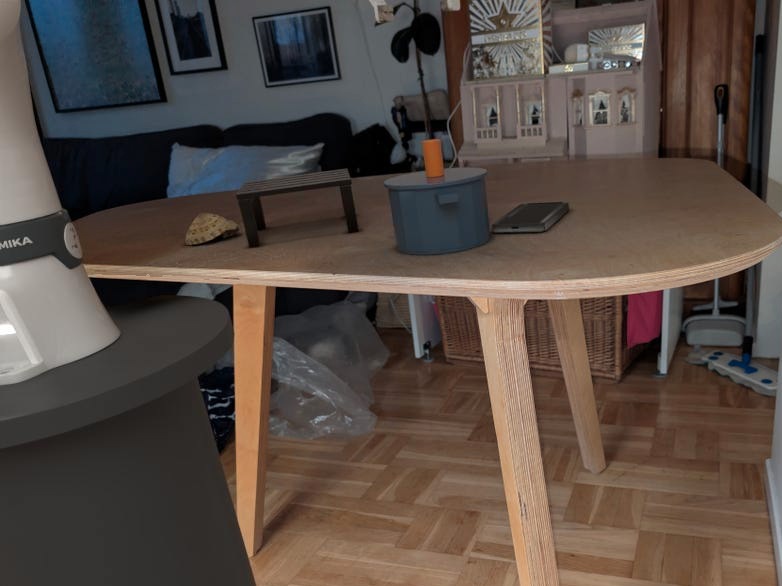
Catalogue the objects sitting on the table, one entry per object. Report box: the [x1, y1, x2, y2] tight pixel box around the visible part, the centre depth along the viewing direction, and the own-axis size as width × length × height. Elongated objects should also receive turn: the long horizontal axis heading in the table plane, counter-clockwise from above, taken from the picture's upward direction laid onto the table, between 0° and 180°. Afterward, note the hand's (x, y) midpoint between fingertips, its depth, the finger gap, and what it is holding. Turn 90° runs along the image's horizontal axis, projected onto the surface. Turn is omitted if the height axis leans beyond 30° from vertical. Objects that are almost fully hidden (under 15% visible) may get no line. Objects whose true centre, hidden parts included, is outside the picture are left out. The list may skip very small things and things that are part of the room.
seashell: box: [184, 212, 242, 246], centre depth 115 cm, size 8×6×8 cm
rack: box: [235, 168, 360, 249], centre depth 113 cm, size 17×16×8 cm
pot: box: [387, 176, 491, 256], centre depth 94 cm, size 13×18×8 cm
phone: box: [491, 201, 570, 234], centre depth 102 cm, size 8×1×15 cm
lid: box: [383, 138, 488, 190], centre depth 91 cm, size 14×14×6 cm
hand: (417, 17), depth 81 cm, fingers open, 8 cm apart
